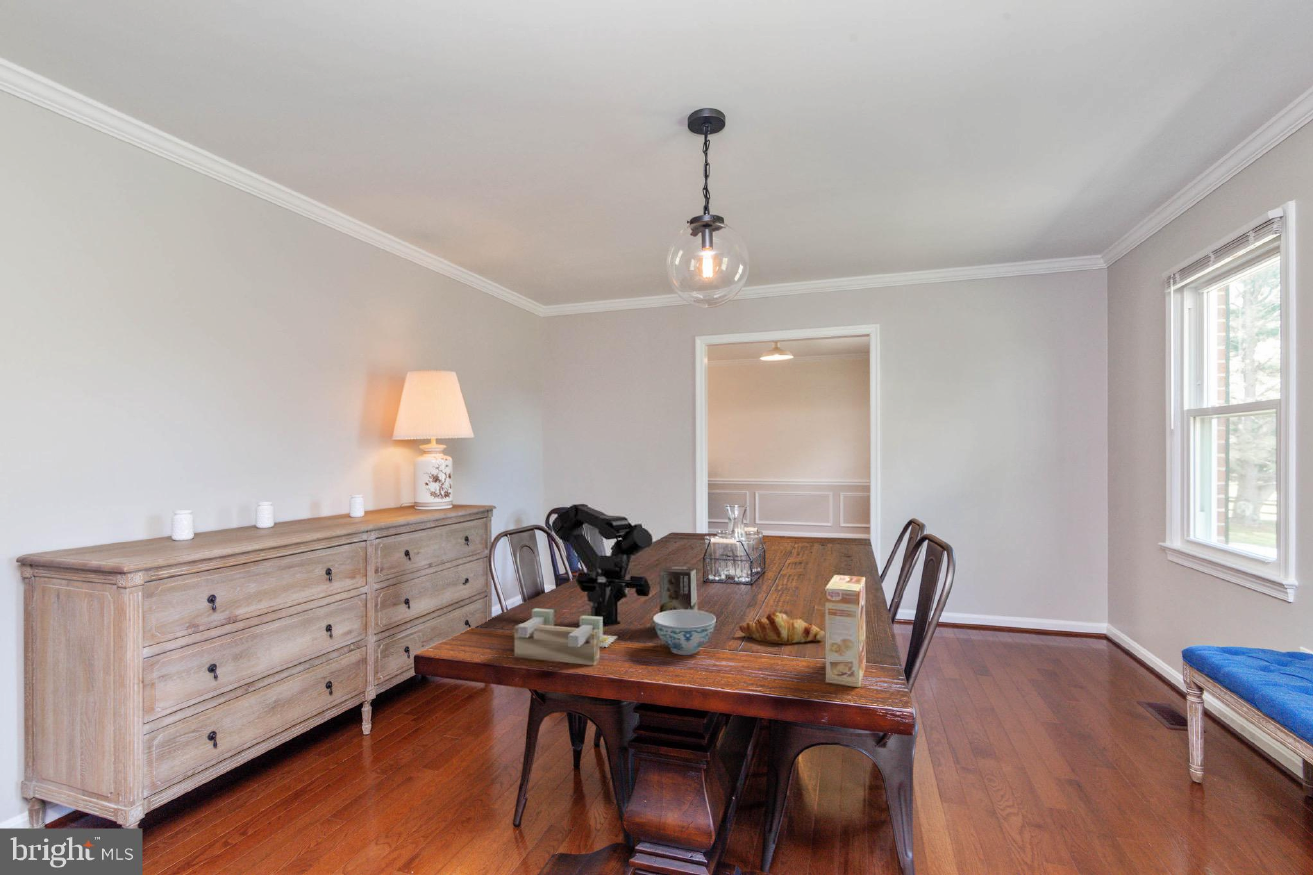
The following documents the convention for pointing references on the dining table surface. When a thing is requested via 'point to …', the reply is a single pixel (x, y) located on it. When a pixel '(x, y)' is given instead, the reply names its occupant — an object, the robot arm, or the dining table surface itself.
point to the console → (556, 646)
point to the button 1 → (536, 621)
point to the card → (606, 640)
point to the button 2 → (585, 630)
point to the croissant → (781, 630)
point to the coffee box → (678, 588)
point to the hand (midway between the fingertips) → (604, 613)
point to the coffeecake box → (845, 630)
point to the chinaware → (684, 629)
